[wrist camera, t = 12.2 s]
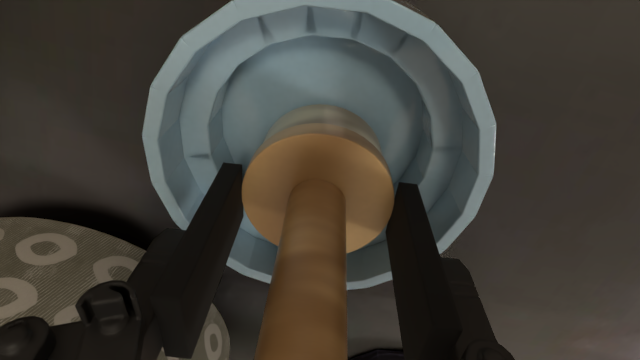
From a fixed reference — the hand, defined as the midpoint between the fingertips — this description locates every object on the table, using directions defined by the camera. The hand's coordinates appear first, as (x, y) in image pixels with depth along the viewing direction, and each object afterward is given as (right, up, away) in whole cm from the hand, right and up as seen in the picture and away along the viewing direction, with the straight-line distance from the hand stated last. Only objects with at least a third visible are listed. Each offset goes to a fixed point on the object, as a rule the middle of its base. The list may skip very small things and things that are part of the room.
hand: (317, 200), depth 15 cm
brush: (0, +2, +3) cm, 3 cm away
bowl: (0, +4, +3) cm, 5 cm away
